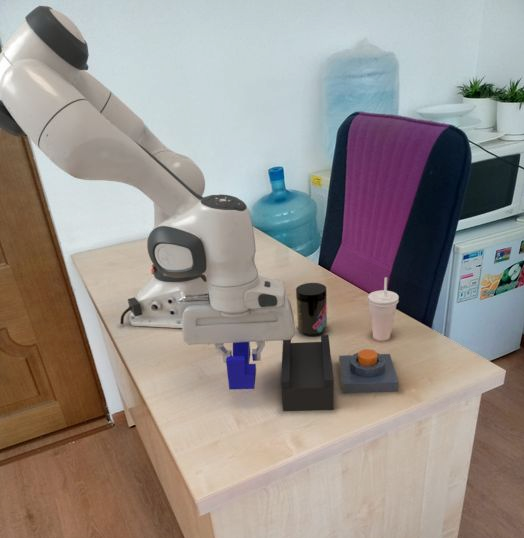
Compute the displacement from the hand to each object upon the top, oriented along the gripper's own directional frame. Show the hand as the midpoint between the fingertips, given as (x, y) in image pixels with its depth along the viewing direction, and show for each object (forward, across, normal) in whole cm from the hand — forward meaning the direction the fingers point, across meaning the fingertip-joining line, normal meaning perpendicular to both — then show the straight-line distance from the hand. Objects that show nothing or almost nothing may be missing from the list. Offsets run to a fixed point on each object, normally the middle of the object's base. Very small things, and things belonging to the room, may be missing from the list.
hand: (242, 360), depth 93 cm
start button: (+3, +23, +2) cm, 24 cm away
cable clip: (+2, 0, 0) cm, 2 cm away
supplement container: (+7, +14, +22) cm, 27 cm away
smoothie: (+7, +29, +18) cm, 35 cm away
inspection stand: (+7, +12, 0) cm, 14 cm away
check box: (+7, +23, +2) cm, 24 cm away
